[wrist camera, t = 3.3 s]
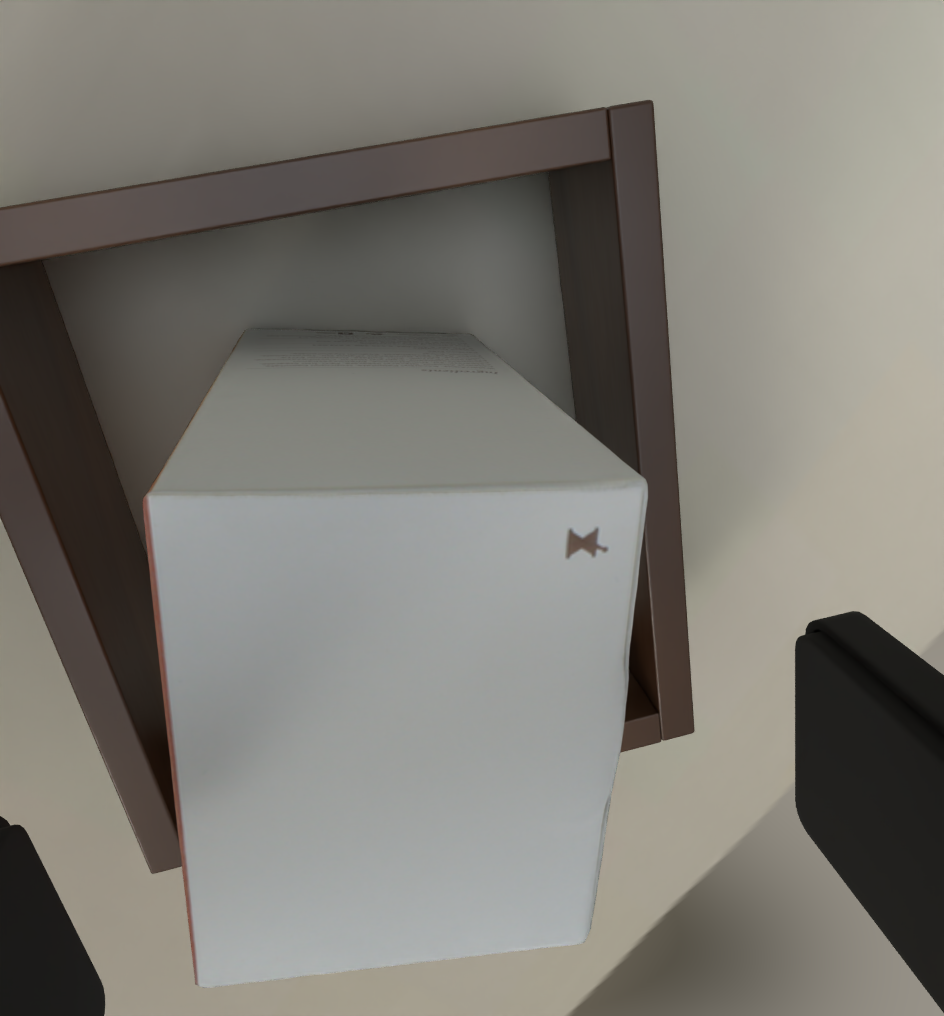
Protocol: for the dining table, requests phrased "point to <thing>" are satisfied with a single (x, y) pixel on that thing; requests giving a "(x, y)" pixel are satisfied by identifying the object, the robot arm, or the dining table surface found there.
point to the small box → (388, 655)
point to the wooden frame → (291, 192)
